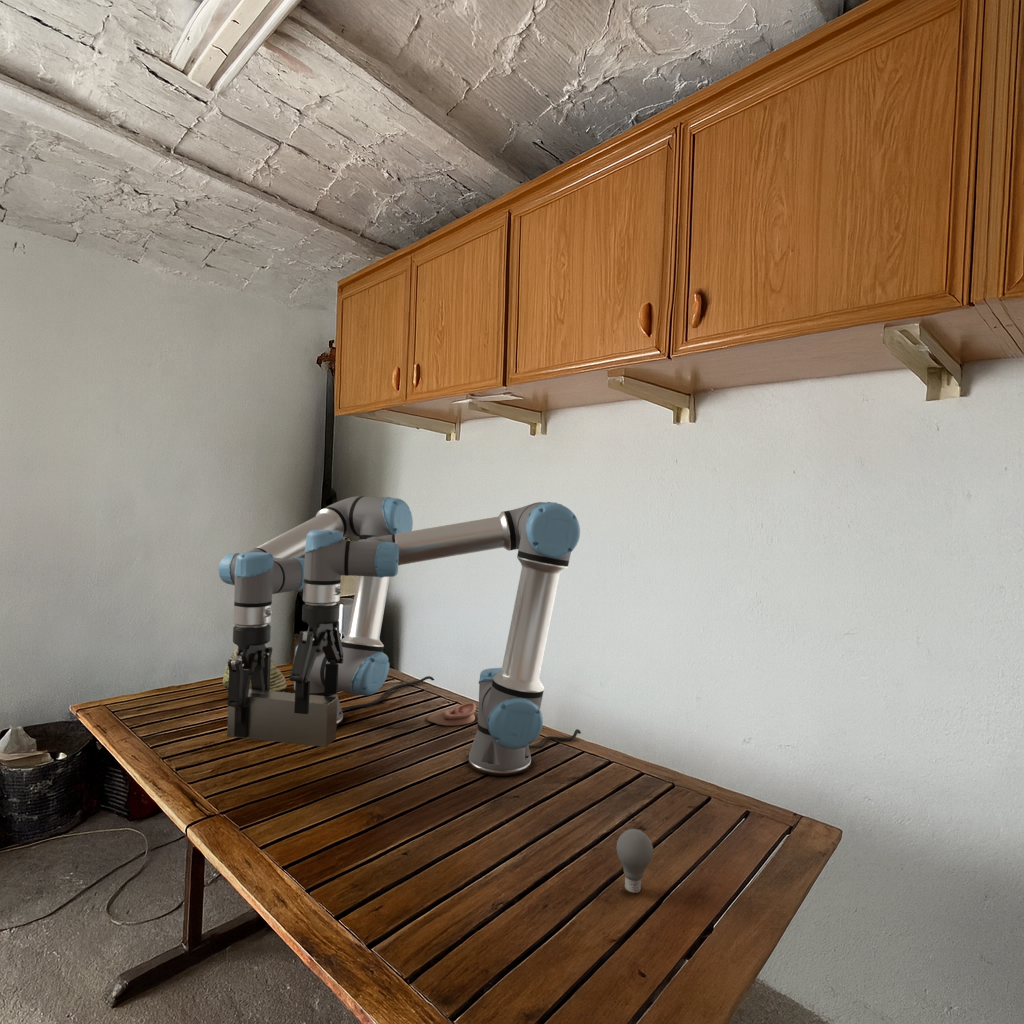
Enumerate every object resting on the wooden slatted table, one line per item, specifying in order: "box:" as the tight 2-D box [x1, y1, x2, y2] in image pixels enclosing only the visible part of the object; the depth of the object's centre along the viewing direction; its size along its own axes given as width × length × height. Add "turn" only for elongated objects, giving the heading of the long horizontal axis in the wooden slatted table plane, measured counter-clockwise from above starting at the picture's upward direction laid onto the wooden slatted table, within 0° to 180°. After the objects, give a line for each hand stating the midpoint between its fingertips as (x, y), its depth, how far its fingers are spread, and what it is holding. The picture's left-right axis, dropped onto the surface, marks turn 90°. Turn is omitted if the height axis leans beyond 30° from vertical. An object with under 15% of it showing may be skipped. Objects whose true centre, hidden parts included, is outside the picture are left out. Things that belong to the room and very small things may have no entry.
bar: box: [226, 689, 339, 748], centre depth 135 cm, size 22×5×9 cm, turn 81°
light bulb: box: [615, 828, 654, 894], centre depth 106 cm, size 6×6×10 cm
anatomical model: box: [426, 702, 477, 726], centre depth 183 cm, size 13×4×12 cm
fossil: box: [222, 647, 288, 692], centre depth 198 cm, size 9×18×15 cm, turn 132°
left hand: (248, 731), depth 137 cm, fingers closed on bar, 5 cm apart
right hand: (316, 702), depth 134 cm, fingers open, 13 cm apart
